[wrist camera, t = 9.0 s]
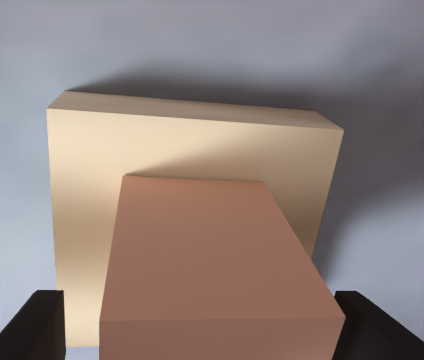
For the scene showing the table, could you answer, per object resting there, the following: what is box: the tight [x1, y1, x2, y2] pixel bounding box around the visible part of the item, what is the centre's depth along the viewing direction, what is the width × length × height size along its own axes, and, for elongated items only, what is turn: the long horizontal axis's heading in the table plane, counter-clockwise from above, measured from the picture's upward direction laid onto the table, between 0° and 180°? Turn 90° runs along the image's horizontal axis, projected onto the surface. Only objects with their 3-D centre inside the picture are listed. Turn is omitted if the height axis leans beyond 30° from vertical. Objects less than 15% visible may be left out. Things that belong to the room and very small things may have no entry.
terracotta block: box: [99, 176, 346, 360], centre depth 11 cm, size 4×4×6 cm
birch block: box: [46, 91, 344, 347], centre depth 15 cm, size 9×9×3 cm
